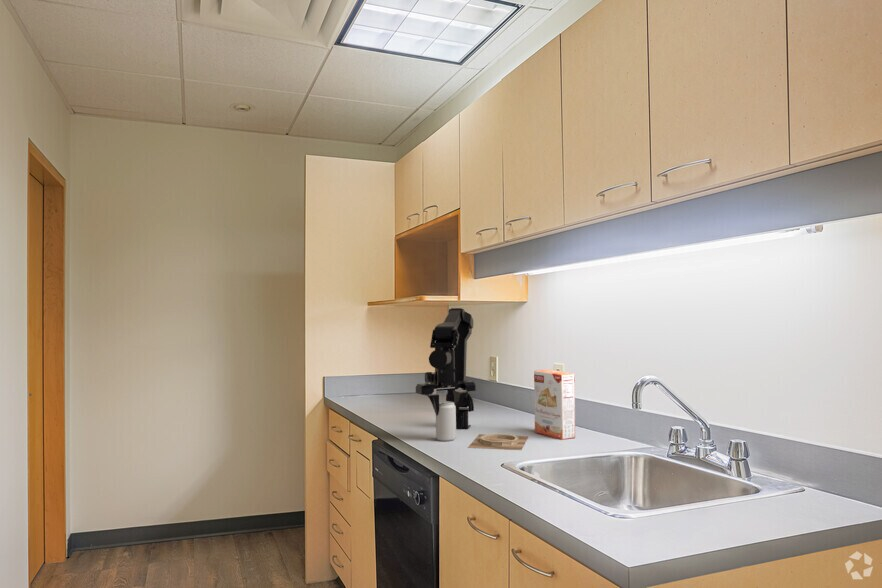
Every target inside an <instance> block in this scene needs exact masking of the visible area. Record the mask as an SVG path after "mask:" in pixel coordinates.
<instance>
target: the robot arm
mask: <svg viewBox="0 0 882 588" xmlns="http://www.w3.org/2000/svg"><path fill="white" fill-rule="evenodd" d="M473 328H474V319H473V317H472V314H470V313H468V312H467V311H466V310H465V309H464V308H462V307H454V308H453V307H451V308H449V309H448V314H447V315H446V317H445V319H444V321H443V322H442V323H438V324H436V325H435V326H434V329H432V334H431V340H430V346H429V347H430V349H434V350H433V351H431V353H429V357H428V362H429V365H430V366H431V367H432V368H434V373H433V372H432V371H427V372H425V373H424V382H425V383H418V384H417V385H416V386H415V393H416V394H418V395H423V396H427V397H428V399H429V400H430V403H431V404H432V405H431V406H432V408H433V410H434V414H435V417H436V416H438V413H439V402H440V394H438V392H441V391H447V393H446V395H445V401H452V402H454V405H455V406H456V430H469V429H470V428H471V427H472V426H471V424H469V413H470V412H474V411H475V404H474V400H473V397H472V396H473V395H472V394H471V392H475V391H477V385H476V382H475V381H473V380H466V379H467V378H466V377H467V349H468V347H467V346H468V345H467V344H468V340H469V338H470V336H471V335H472V333H473V332H472V331H473Z"/></svg>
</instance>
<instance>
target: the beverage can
mask: <svg viewBox="0 0 882 588" xmlns="http://www.w3.org/2000/svg"><path fill="white" fill-rule="evenodd" d="M435 438H436V439H437V440H438V441H440V442H453V441H455V440H456V439H457V429H456V406H455V405H454V402H452V401H446V400H444V401H439V413H438V416H436V415H435Z"/></svg>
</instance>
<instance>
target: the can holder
mask: <svg viewBox="0 0 882 588" xmlns="http://www.w3.org/2000/svg"><path fill="white" fill-rule="evenodd" d="M528 439H529V435H513V434H508V433H491V434H490V433H489V434H483V433H482V434H480V433H479V434H478V435H477V436H476V437H475V438H474V439H473V441H472V442H471V443H470V444H469V445H468V447H467V449H485V450H486V449H487V450H504V451H505V450H506V451H507V450H508V451H509V450H510V451H522V450H523V448H524V447H525V445H526V442H527V441H528Z"/></svg>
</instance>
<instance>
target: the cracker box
mask: <svg viewBox="0 0 882 588" xmlns="http://www.w3.org/2000/svg"><path fill="white" fill-rule="evenodd" d="M575 381H576V380H575V373H573V372H565V371H559V370H553V369H536V370H534V371H533V387H534V388H533V389H534V390H533V391H534V393H533V394H534V432H535V433H536V434H540V435H544V436H547V437H552V438H554V439H558V440H561V441H563V440H570V439H575V438H576V399H575V398H576V396H575V395H576V394H575V393H576V392H575V390H576V388H575V387H576V386H575V385H576V384H575Z"/></svg>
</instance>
